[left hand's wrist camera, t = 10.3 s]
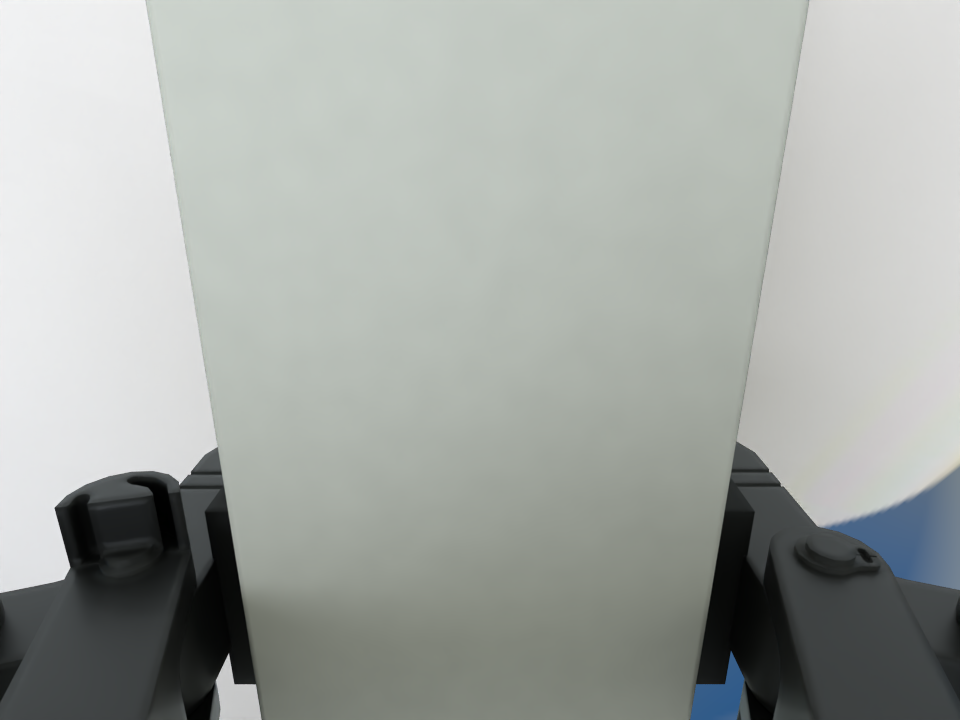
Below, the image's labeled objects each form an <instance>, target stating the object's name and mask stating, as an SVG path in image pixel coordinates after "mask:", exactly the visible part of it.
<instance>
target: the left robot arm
mask: <svg viewBox="0 0 960 720" xmlns="http://www.w3.org/2000/svg"><path fill="white" fill-rule="evenodd" d="M55 511H56V515H57V519H58V522H59V526H60V530H61V534H62V537H63V541H64V545H65V549H66V552H67V556H68V560H69V563H70V567H71V568H70V570H69V572H68V574H67V575H66V577H65V579H64V580H61V581H58V582H54V583H49V584H44V585H39V586H34V587H29V588H24V589H19V590H14V591H9V592H4V593H0V720H219V716H220V703H219V695H218V690H217V684H216V679H217V677H218V675H219V672H220V670H221V668H222V666H223V664H224V662H225V660H226V658H227V656H228V654H229V655H230V661H231V666H232V672H233V678H234V684H256V681H255V674H254V668H253V662H252V656H251V650H250V643H249V637H248V631H247V625H246V619H245V612H244V606H243V600H242V594H241V588H240V581H239V575H238V569H237V563H236V557H235V550H234V544H233V538H232V532H231V526H230V520H229V513H228V507H227V501H226V495H225V489H224V482H223V476H222V470H221V464H220V458H219V451H218V447H217V448H216V449H214V450H212V451H211V452H209V453H207V454H206V455H205V456H204V457H203V458H202V459H201V460H200V462H199V463H198V464H197V465H196V466H195V467H194V469H193V470H192V471H191V475H188V476H187V477H186V478H185V479H184V481H183V482H182V483H181V484H180V485H179V482H178V481H177V480H176V479H174V478H173V477H172V476H170V475H169V474H164V473H159V472H154V471H144V472H129V473H124V474H119V475H114V476H109V477H106V478H103V479H100V480H98V481H95V482H92V483H89V484H87V485H85V486H83V487H81V488H79V489H78V490H76V491H74V492H72V493H71V494H69V495H67V496H66V497H65V498H64V499H63V500H62V501H61V502H60V503H59V504H58V505H57V506H56V507H55ZM731 651H732V653H733V655H734V657H735V659H736V662H737V664H738V666H739V668H740V670H741V672H742V674H743V676H744V678H745V679H744V684H743V690H742V695H741V700H740V706H739V711H738V716H737V720H960V590H956V589H951V588H946V587H941V586H936V585H931V584H926V583H921V582H916V581H911V580H906V579H902V578H898V577H895V576H894V574H893V572H892V571H891V569H890V567H889V565H888V564H887V563H886V562H885V561H884V560H883V558H882V557H881V556H880V555H879V554H878V553H877V552H876V551H874V550H873V549H871V548H870V547H868V546H867V545H865V544H864V543H862V542H861V541H859V540H857V539H854V538H852V537H850V536H847V535H845V534H843V533H840V532H837V531H833V530H829V529H825V528H820V527H817V526H816V525H815V523H814V522H813V521H812V520H811V519H810V517H809V516H808V515H807V514H806V513H805V511H804V510H803V509H802V508H801V507H800V506H799V504H798V503H797V502H796V501H795V500H794V498H793V497H792V496H791V495H790V494H789V493H788V491H787V490H786V489H785V488H784V487H781V483H780V482H779V481H778V479H777V478H776V477H775V476H774V475H773V474H772V473H769V469H768V468H767V466H766V465H765V464H764V463H763V462H762V460H761V459H760V458H759V457H758V456H757V455H756V453H755V452H753V451H751V450H750V449H748V448H746V447H745V446H743V445H741V444H740V443H738V442H736V445H735V451H734V457H733V463H732V470H731V476H730V482H729V488H728V494H727V500H726V506H725V512H724V518H723V524H722V530H721V536H720V542H719V548H718V554H717V560H716V566H715V572H714V578H713V584H712V590H711V596H710V602H709V608H708V614H707V620H706V626H705V632H704V638H703V644H702V650H701V656H700V662H699V669H698V675H697V681H696V684H725V681H726V675H727V669H728V664H729V658H730V652H731Z"/></svg>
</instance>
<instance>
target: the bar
mask: <svg viewBox="0 0 960 720" xmlns="http://www.w3.org/2000/svg"><path fill="white" fill-rule="evenodd" d="M146 5H147V12H148V18H149V24H150V30H151V36H152V43H153V49H154V55H155V61H156V67H157V74H158V80H159V86H160V92H161V98H162V105H163V111H164V117H165V123H166V129H167V135H168V142H169V148H170V154H171V160H172V166H173V173H174V179H175V185H176V191H177V197H178V204H179V210H180V216H181V222H182V228H183V235H184V241H185V247H186V253H187V259H188V266H189V272H190V278H191V284H192V290H193V297H194V303H195V309H196V315H197V321H198V327H199V334H200V340H201V346H202V352H203V358H204V365H205V371H206V377H207V383H208V389H209V396H210V402H211V408H212V414H213V420H214V427H215V433H216V439H217V445H218V451H219V458H220V464H221V470H222V476H223V482H224V489H225V495H226V501H227V507H228V513H229V520H230V526H231V532H232V538H233V544H234V550H235V557H236V563H237V569H238V575H239V581H240V588H241V594H242V600H243V606H244V612H245V619H246V625H247V631H248V637H249V643H250V650H251V656H252V662H253V668H254V674H255V681H256V687H257V693H258V699H259V705H260V712H261V718H262V720H690V717H691V711H692V705H693V698H694V693H695V687H696V681H697V675H698V669H699V662H700V656H701V650H702V644H703V638H704V632H705V626H706V620H707V614H708V608H709V602H710V596H711V590H712V584H713V578H714V572H715V566H716V560H717V554H718V548H719V542H720V536H721V530H722V524H723V518H724V512H725V506H726V500H727V494H728V488H729V482H730V476H731V470H732V463H733V457H734V451H735V445H736V439H737V433H738V427H739V421H740V415H741V409H742V403H743V397H744V391H745V385H746V379H747V373H748V367H749V361H750V355H751V349H752V343H753V337H754V331H755V325H756V319H757V313H758V307H759V301H760V295H761V289H762V283H763V277H764V271H765V264H766V258H767V252H768V246H769V240H770V234H771V228H772V222H773V216H774V210H775V204H776V198H777V192H778V186H779V180H780V174H781V168H782V162H783V156H784V150H785V144H786V138H787V132H788V126H789V120H790V114H791V108H792V102H793V96H794V90H795V84H796V78H797V72H798V66H799V59H800V53H801V47H802V41H803V35H804V29H805V23H806V17H807V11H808V5H809V0H146Z"/></svg>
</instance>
